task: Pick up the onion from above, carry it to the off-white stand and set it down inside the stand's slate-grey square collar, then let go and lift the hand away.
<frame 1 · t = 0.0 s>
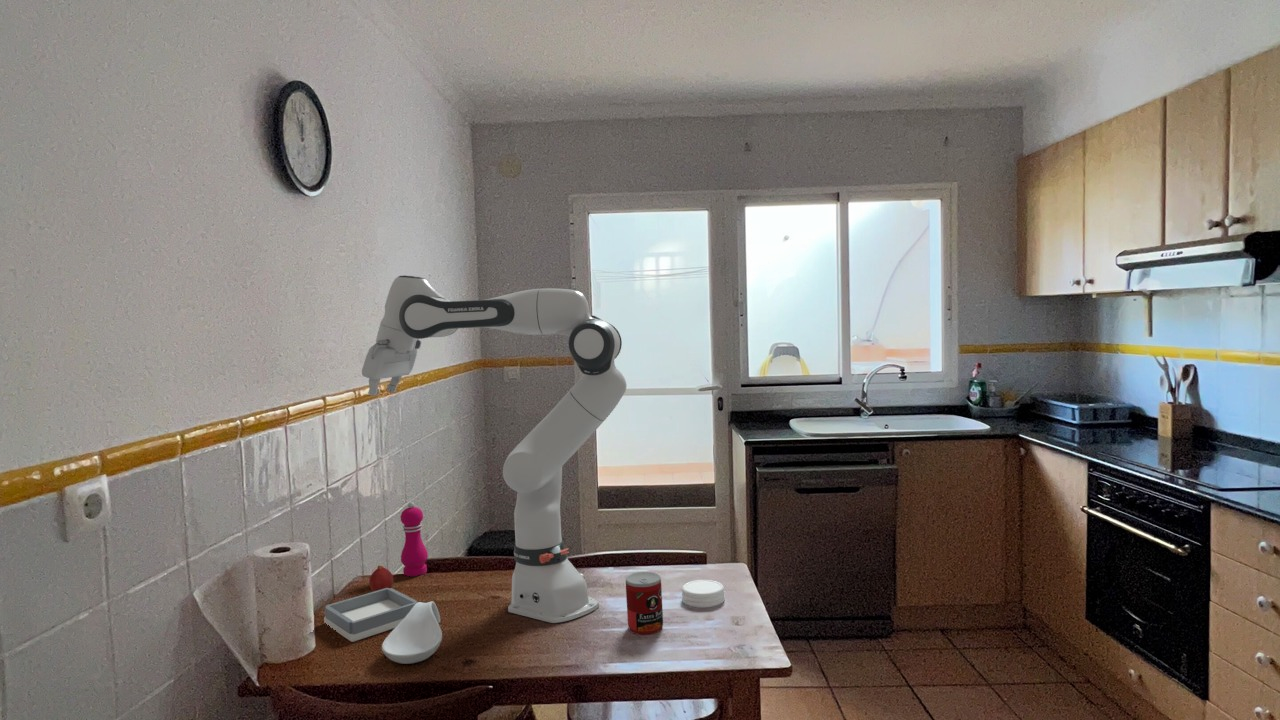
hand: (381, 393, 177), 52 cm above the table, tool tilted 20°, fingers open, 8 cm apart
pepper mill: (415, 573, 201), on the table
white short cylinder: (703, 601, 170), on the table
canned food: (645, 628, 156), on the table
onion: (382, 596, 184), on the table
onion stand: (372, 621, 167), on the table
spoon rest: (419, 647, 153), on the table
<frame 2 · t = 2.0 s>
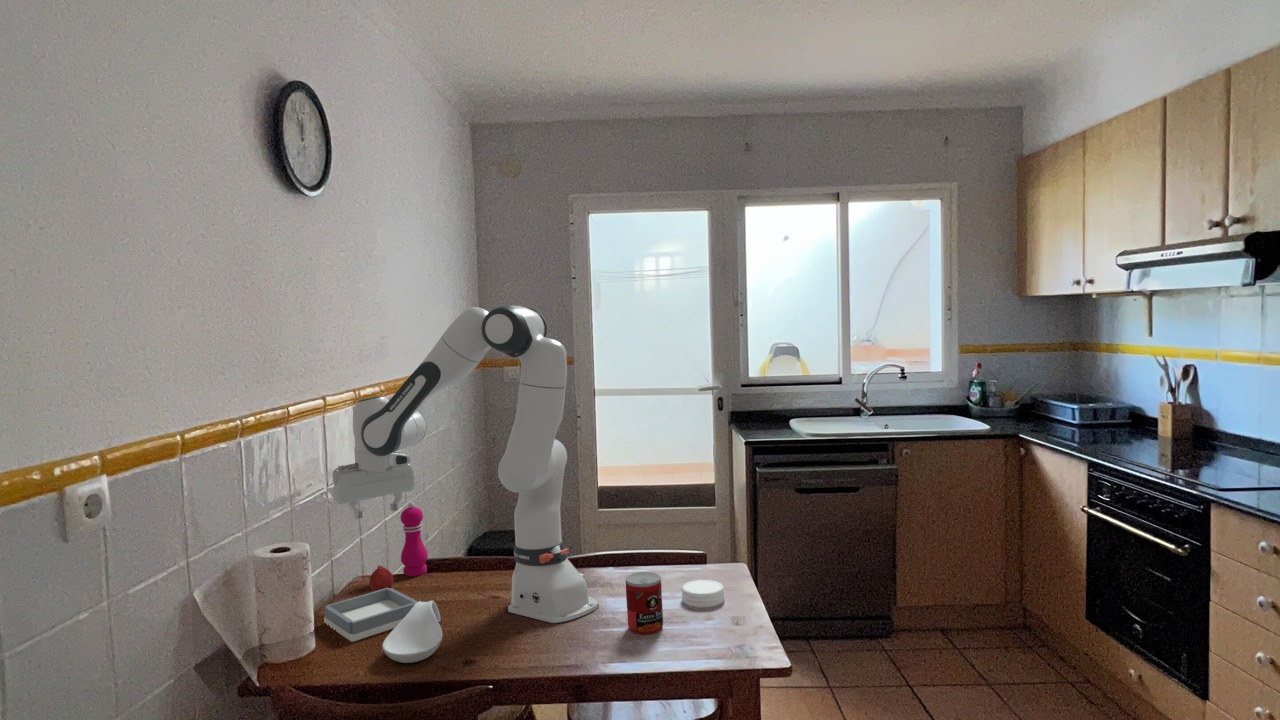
hand: (376, 514, 184), 21 cm above the table, tool pointing down, fingers open, 8 cm apart
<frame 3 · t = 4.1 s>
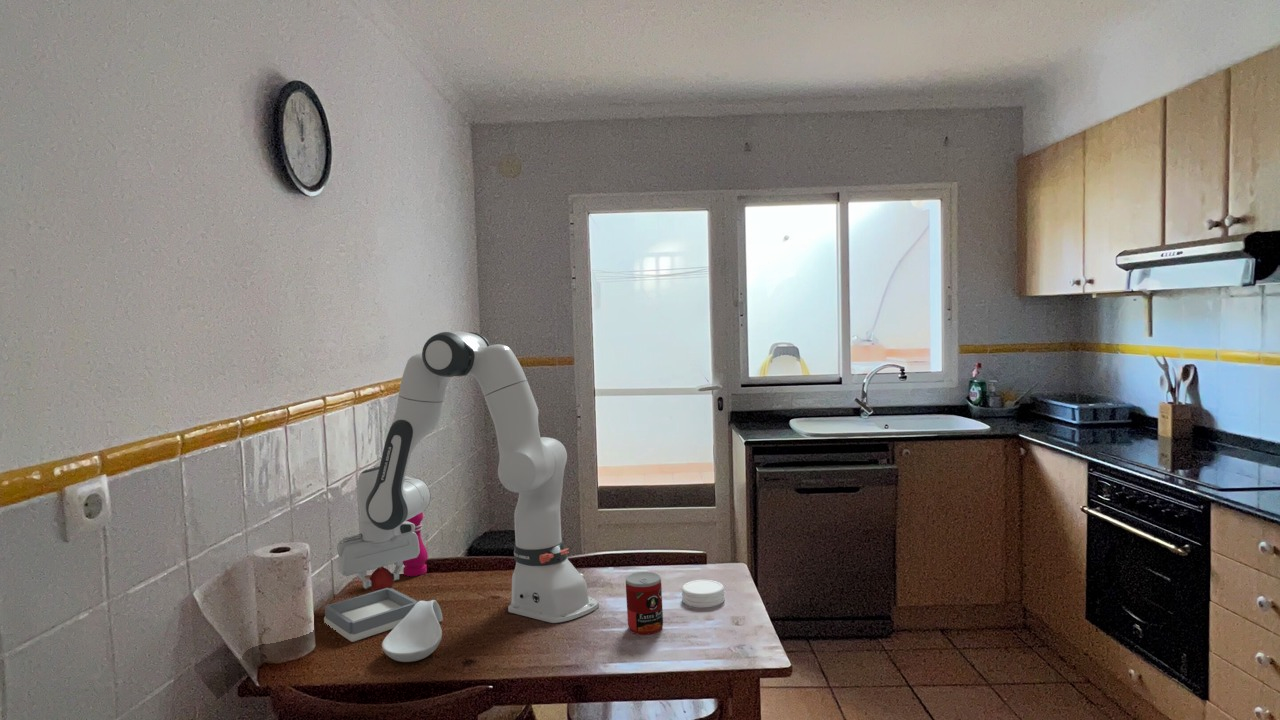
hand: (381, 583, 184), 3 cm above the table, tool pointing down, fingers closed on onion, 6 cm apart
onion: (382, 596, 184), on the table, touching gripper
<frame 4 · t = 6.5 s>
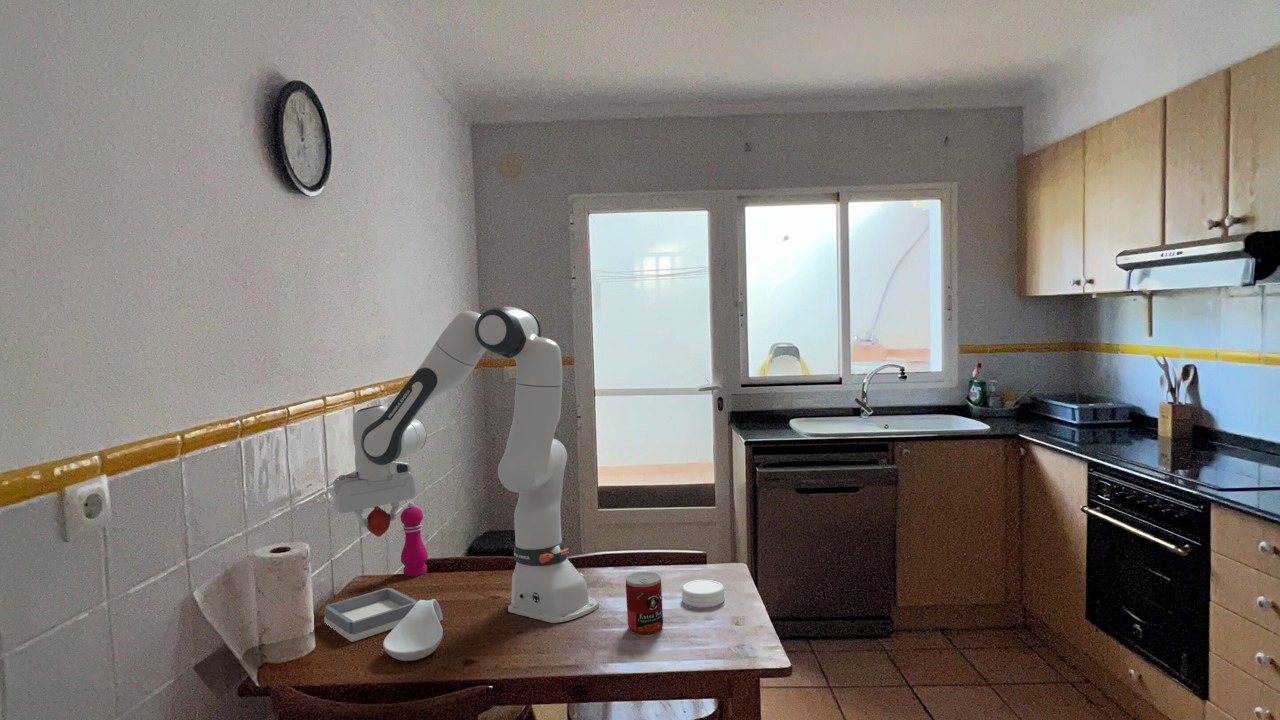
hand: (378, 523, 184), 19 cm above the table, tool pointing down, fingers closed on onion, 6 cm apart
onion: (379, 537, 184), point 15 cm above the table, touching gripper
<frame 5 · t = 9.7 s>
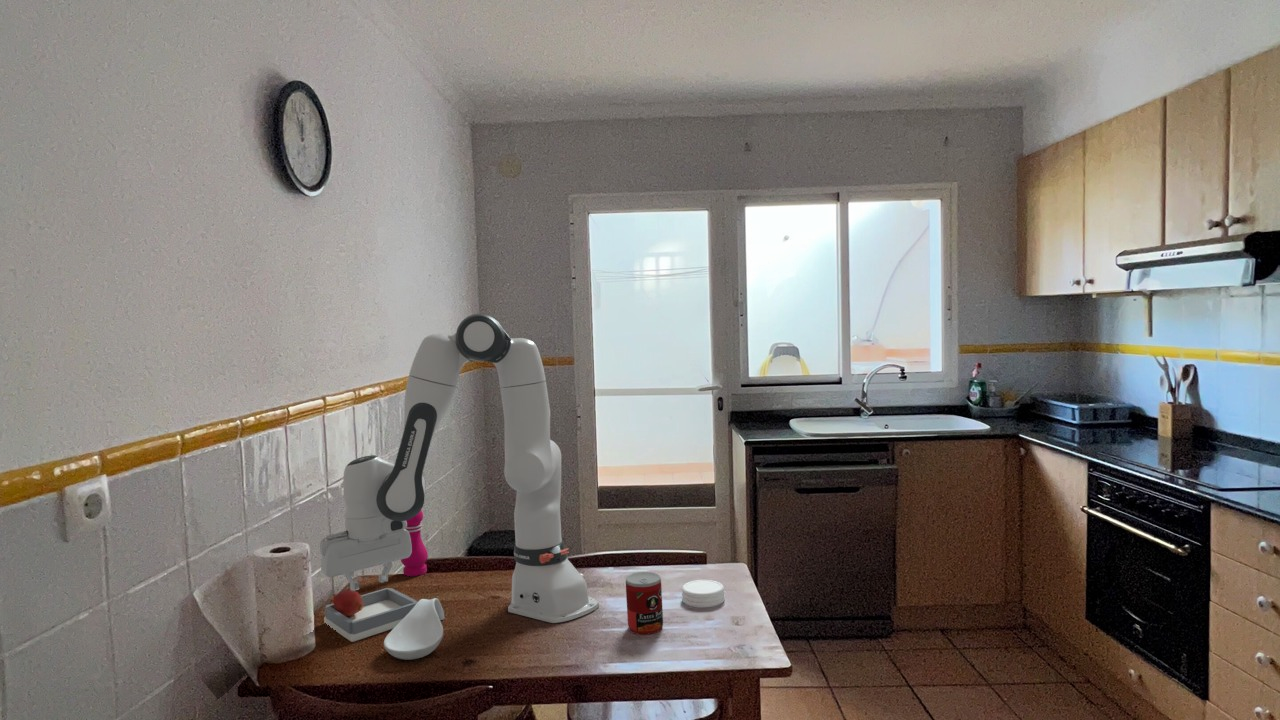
hand: (369, 585, 167), 8 cm above the table, tool pointing down, fingers open, 5 cm apart
onion: (363, 608, 167), point 3 cm above the table, touching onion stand
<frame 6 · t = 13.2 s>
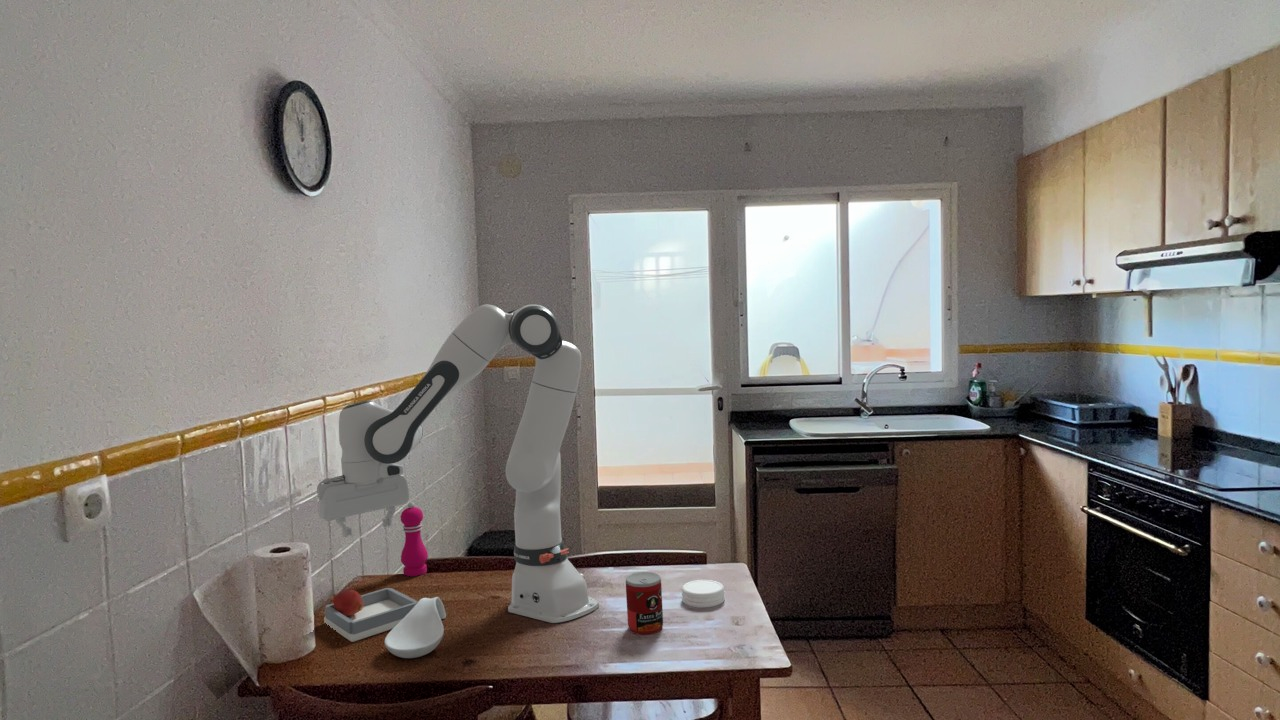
hand: (367, 531, 167), 21 cm above the table, tool pointing down, fingers open, 8 cm apart
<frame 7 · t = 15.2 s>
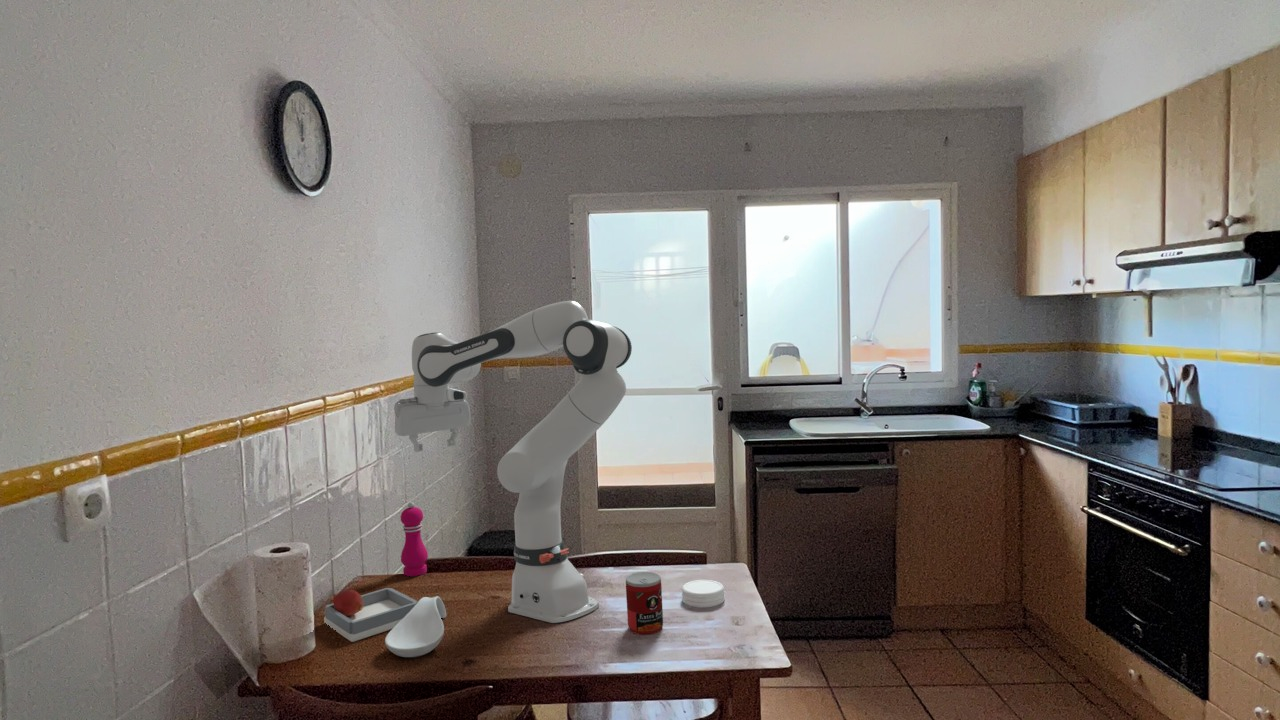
hand: (435, 448, 188), 36 cm above the table, tool pointing down, fingers open, 8 cm apart
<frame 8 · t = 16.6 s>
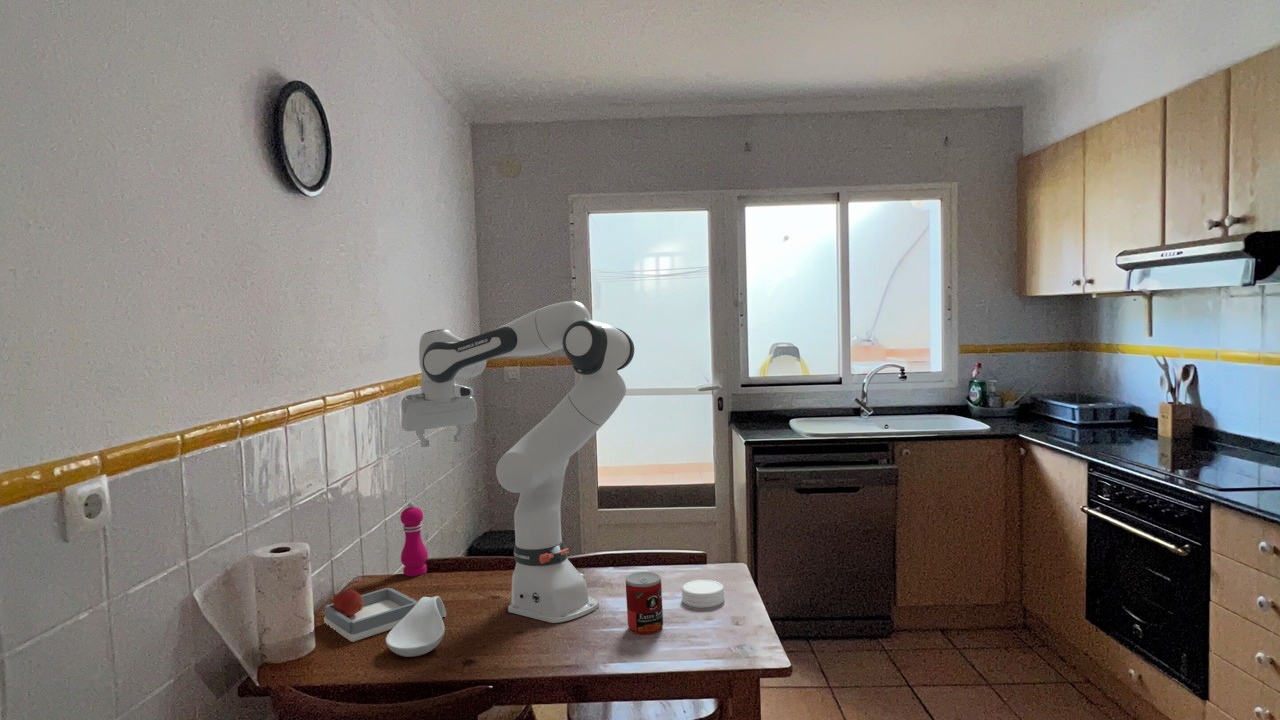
hand: (441, 444, 190), 37 cm above the table, tool pointing down, fingers open, 8 cm apart
at the end: onion inside the target area on the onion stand (1.7 cm from its centre), point 3.3 cm above the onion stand's base; the gripper is holding nothing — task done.
